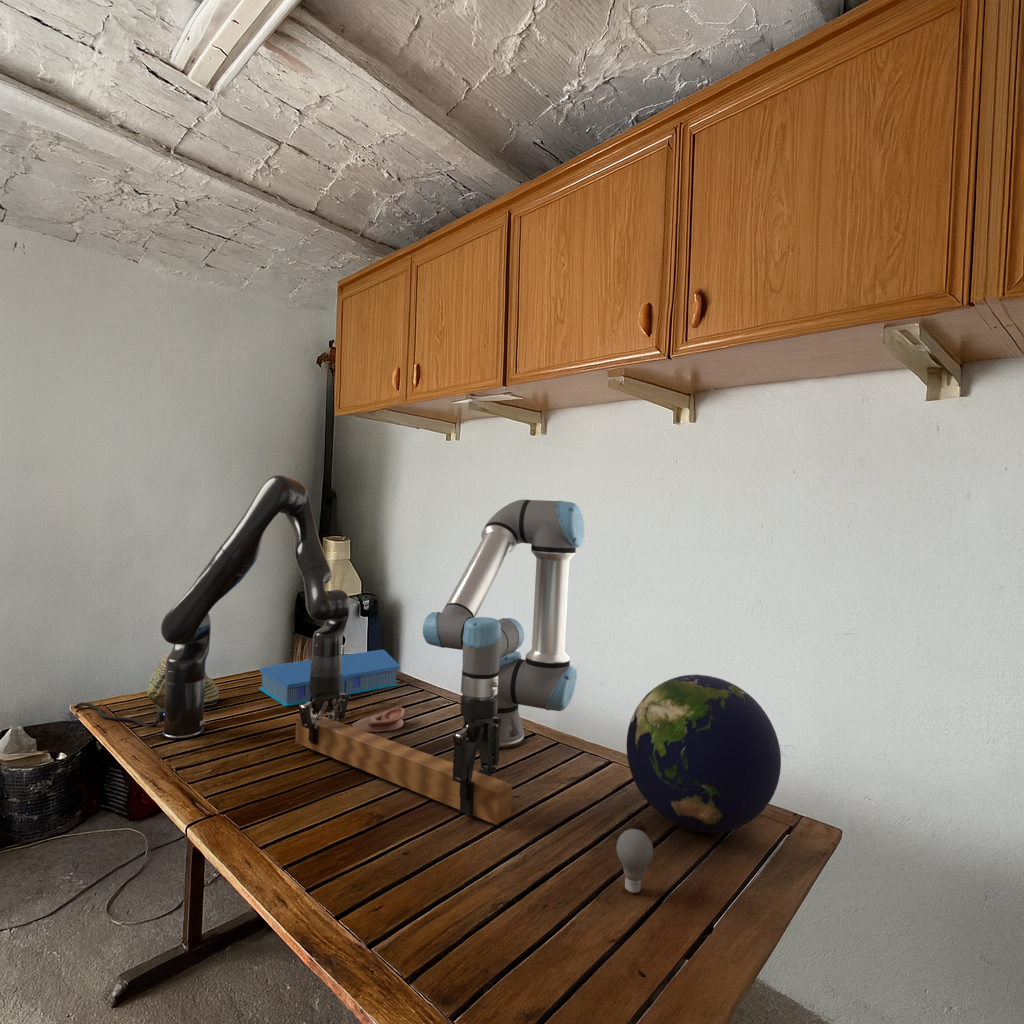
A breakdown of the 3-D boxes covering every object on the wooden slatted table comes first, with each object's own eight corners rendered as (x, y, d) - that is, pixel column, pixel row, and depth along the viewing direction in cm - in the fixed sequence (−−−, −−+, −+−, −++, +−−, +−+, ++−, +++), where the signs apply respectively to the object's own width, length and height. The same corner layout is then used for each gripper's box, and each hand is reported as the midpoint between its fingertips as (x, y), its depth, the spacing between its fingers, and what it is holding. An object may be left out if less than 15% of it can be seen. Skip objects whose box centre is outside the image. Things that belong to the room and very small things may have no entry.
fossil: (144, 707, 182) (145, 655, 182) (212, 696, 194) (213, 647, 194) (151, 716, 175) (153, 662, 175) (221, 703, 188) (223, 653, 188)
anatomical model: (347, 714, 172) (365, 702, 183) (346, 729, 172) (365, 715, 183) (393, 720, 169) (409, 707, 181) (392, 735, 169) (408, 720, 181)
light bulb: (610, 879, 108) (613, 822, 108) (644, 879, 109) (647, 822, 109) (619, 902, 102) (622, 840, 102) (655, 901, 103) (658, 840, 103)
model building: (289, 709, 186) (291, 675, 185) (258, 688, 204) (259, 657, 204) (403, 687, 212) (405, 657, 212) (366, 670, 230) (368, 643, 230)
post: (295, 742, 158) (296, 717, 158) (311, 737, 162) (312, 712, 162) (496, 825, 123) (498, 792, 123) (510, 815, 127) (512, 784, 127)
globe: (608, 841, 121) (615, 684, 120) (638, 779, 148) (644, 652, 148) (777, 883, 110) (786, 711, 109) (776, 808, 137) (783, 670, 137)
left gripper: (312, 680, 148) (308, 753, 148) (358, 669, 160) (355, 736, 160) (291, 674, 152) (288, 744, 152) (338, 663, 164) (335, 728, 164)
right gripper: (466, 710, 119) (461, 831, 120) (519, 688, 134) (514, 796, 135) (436, 701, 124) (431, 819, 124) (490, 681, 138) (486, 786, 139)
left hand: (323, 739), depth 156 cm, fingers closed on post, 5 cm apart
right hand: (474, 807), depth 130 cm, fingers closed on post, 5 cm apart
